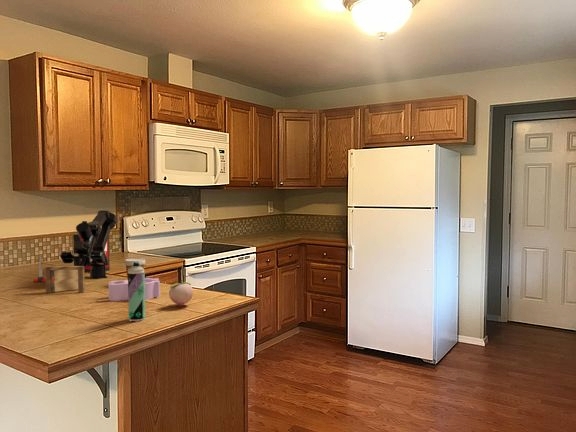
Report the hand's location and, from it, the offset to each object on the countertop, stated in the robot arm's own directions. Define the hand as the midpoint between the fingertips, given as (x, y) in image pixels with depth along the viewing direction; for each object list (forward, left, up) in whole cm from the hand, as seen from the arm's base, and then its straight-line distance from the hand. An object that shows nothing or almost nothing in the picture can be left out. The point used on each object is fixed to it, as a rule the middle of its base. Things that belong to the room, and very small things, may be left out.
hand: (78, 272), depth 212 cm
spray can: (+3, +67, -7) cm, 67 cm away
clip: (-11, +34, -8) cm, 37 cm away
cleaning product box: (-21, -43, -7) cm, 48 cm away
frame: (+7, +6, -7) cm, 12 cm away
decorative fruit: (-18, +61, -7) cm, 64 cm away
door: (+6, +2, -7) cm, 9 cm away
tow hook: (+6, -30, -8) cm, 31 cm away
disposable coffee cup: (-22, +11, -7) cm, 26 cm away
